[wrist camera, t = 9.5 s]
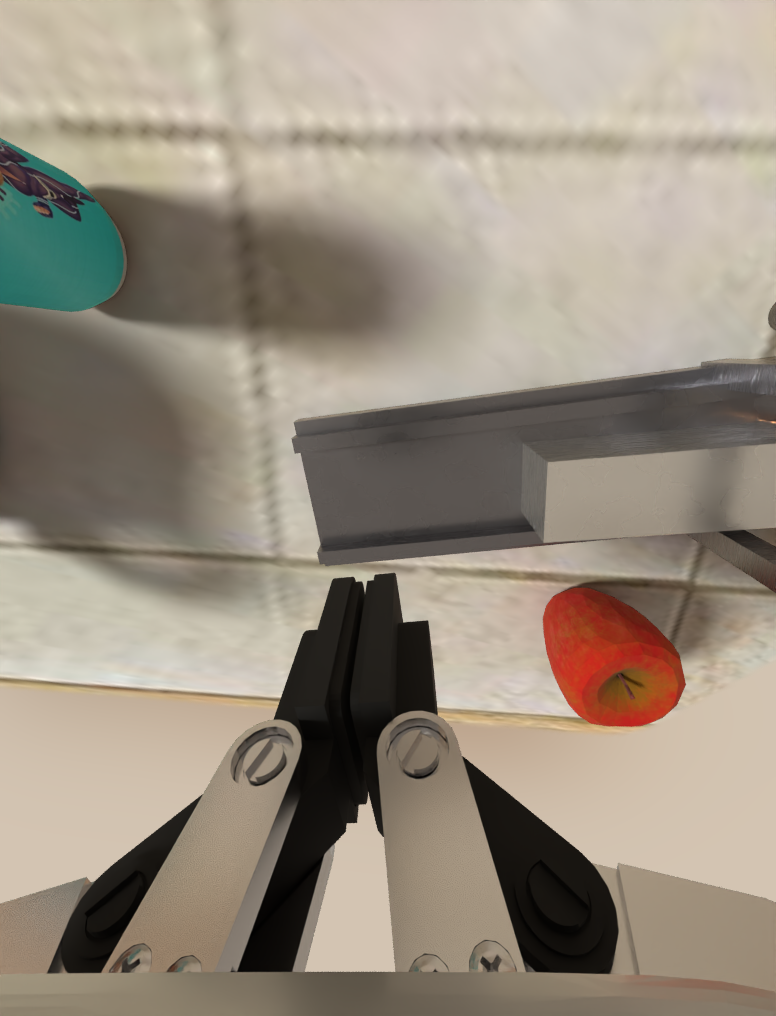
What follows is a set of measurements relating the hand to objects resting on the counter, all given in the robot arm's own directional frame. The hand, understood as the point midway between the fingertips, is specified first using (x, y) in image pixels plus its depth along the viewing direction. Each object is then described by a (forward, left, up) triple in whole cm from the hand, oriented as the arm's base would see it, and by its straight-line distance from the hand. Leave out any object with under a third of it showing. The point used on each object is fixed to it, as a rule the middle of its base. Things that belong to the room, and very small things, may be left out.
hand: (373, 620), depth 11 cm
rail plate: (+1, +11, -13) cm, 17 cm away
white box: (+1, +16, -12) cm, 20 cm away
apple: (+10, +11, -14) cm, 20 cm away
